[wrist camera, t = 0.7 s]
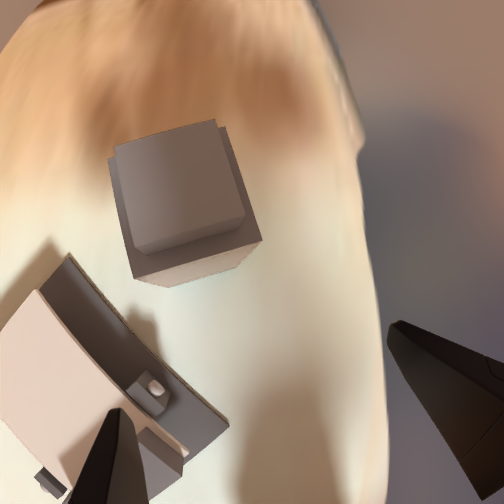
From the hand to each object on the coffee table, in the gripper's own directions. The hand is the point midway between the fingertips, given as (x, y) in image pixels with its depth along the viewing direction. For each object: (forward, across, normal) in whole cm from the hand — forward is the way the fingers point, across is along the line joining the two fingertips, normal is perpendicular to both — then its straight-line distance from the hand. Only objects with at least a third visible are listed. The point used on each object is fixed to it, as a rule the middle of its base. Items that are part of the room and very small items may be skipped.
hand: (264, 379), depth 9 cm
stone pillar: (+15, +1, +2) cm, 15 cm away
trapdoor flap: (+7, +13, +8) cm, 17 cm away
